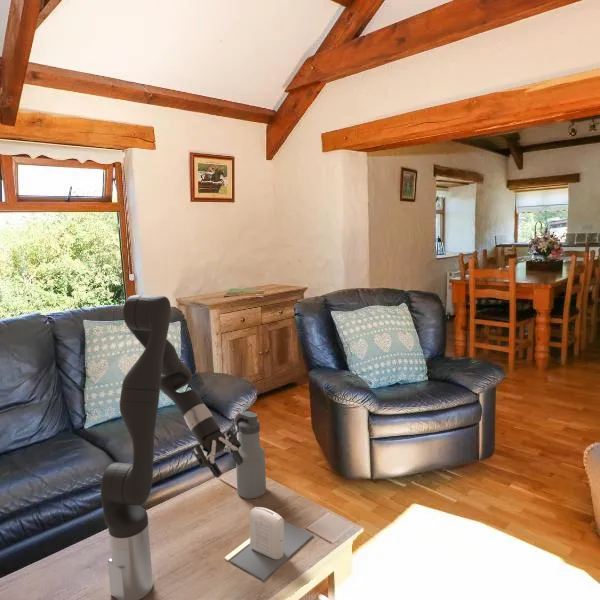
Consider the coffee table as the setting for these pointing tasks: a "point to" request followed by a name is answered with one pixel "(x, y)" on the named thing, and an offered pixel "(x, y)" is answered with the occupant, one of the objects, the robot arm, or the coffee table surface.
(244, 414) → the water bottle
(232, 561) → the mat
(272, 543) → the photo printer
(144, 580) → the robot arm
